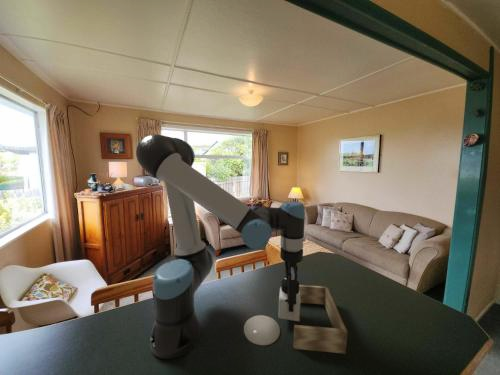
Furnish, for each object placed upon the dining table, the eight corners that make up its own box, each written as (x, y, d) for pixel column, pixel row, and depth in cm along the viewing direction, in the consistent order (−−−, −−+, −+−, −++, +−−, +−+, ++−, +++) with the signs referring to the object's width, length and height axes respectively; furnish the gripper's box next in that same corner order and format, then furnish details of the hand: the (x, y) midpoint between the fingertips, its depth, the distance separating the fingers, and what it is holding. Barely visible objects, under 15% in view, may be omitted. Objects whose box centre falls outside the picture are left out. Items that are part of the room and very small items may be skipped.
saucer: (241, 343, 63) (241, 342, 63) (246, 315, 75) (246, 314, 75) (280, 347, 62) (280, 346, 62) (279, 317, 74) (279, 316, 74)
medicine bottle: (299, 322, 68) (301, 288, 67) (278, 318, 70) (279, 285, 68) (299, 307, 75) (300, 276, 74) (279, 304, 76) (280, 274, 75)
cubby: (293, 348, 62) (294, 327, 61) (288, 300, 83) (288, 284, 83) (345, 353, 60) (347, 332, 59) (326, 303, 82) (327, 286, 81)
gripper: (308, 262, 59) (304, 334, 62) (299, 237, 79) (296, 292, 82) (282, 261, 60) (279, 332, 63) (279, 236, 80) (277, 290, 83)
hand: (289, 309), depth 72 cm, fingers closed on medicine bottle, 7 cm apart
